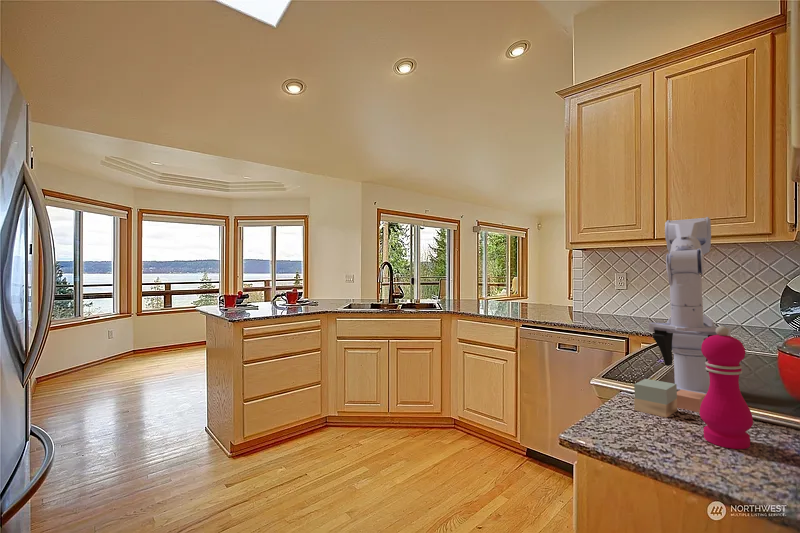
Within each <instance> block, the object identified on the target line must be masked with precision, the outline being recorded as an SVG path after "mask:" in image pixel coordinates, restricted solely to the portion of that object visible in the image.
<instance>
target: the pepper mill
mask: <svg viewBox="0 0 800 533" xmlns="http://www.w3.org/2000/svg"><path fill="white" fill-rule="evenodd" d="M716 327H717V328H716V334H717V335H713V336H709V337H708V338H706V339H705V340H704V341H703V343H702V346H701V351H702V354H703V355H704V356H705V358H706V359H707V360H708V361H707V362H705V364H706V368H705V369H706V370H707V371H709V376H710V385H709V389H708V392H707V394H706V395H705V397H704V399H703V401H702V403H701V406H700V413H699V417H700V419H701V420H702V421H703V422H704V423H705V426H704V427H703V438H704V440H705V441H707V442H709V443H710V444H712V445H715V446H718V447H722V448H725V449H726V448H727V449H734V450H745V449H746V450H747V449H749V448H750V447H751V436H750V434H749V433H748V432H747V431H748V430H750V429H751V428H752V427H753V425H754V418H753V414H752V411H751V409H750V407H749V405H748V404H747V402H746V400H745V398H744V396H743V395H742V392H741V389H740V381H739V380H740V375H742V374H743V369H742V368H743V365H742V364H740V363H741V362H742V361H743V360H744V359H745V357H746V348H745V346H744V345H743V343H742V342H741V340H739V339H738V338H737V337H733V336H727V334H728V332H729V331H728V329H727V328H728V327H725V326H723V325H720V326H716Z"/></svg>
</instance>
